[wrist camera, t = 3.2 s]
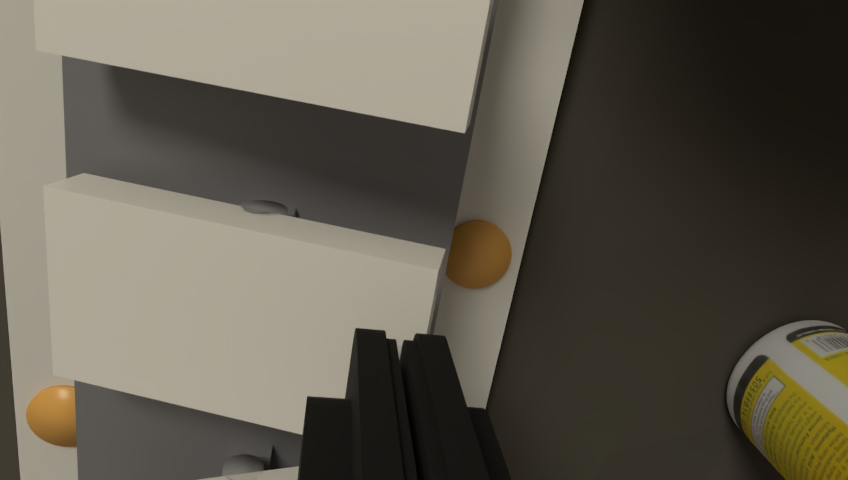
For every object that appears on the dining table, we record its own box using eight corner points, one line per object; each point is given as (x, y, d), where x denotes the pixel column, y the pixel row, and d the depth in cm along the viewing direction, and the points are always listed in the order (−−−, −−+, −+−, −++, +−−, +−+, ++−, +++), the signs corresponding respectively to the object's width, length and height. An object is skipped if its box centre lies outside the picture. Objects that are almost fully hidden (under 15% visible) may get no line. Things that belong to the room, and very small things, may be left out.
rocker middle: (449, 238, 13) (438, 270, 11) (416, 406, 15) (402, 458, 13) (104, 166, 14) (43, 186, 12) (107, 335, 15) (52, 375, 13)
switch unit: (602, -132, 16) (690, -179, 12) (452, 506, 24) (474, 612, 20) (-15, -275, 14) (-174, -396, 10) (37, 487, 21) (-39, 606, 17)
